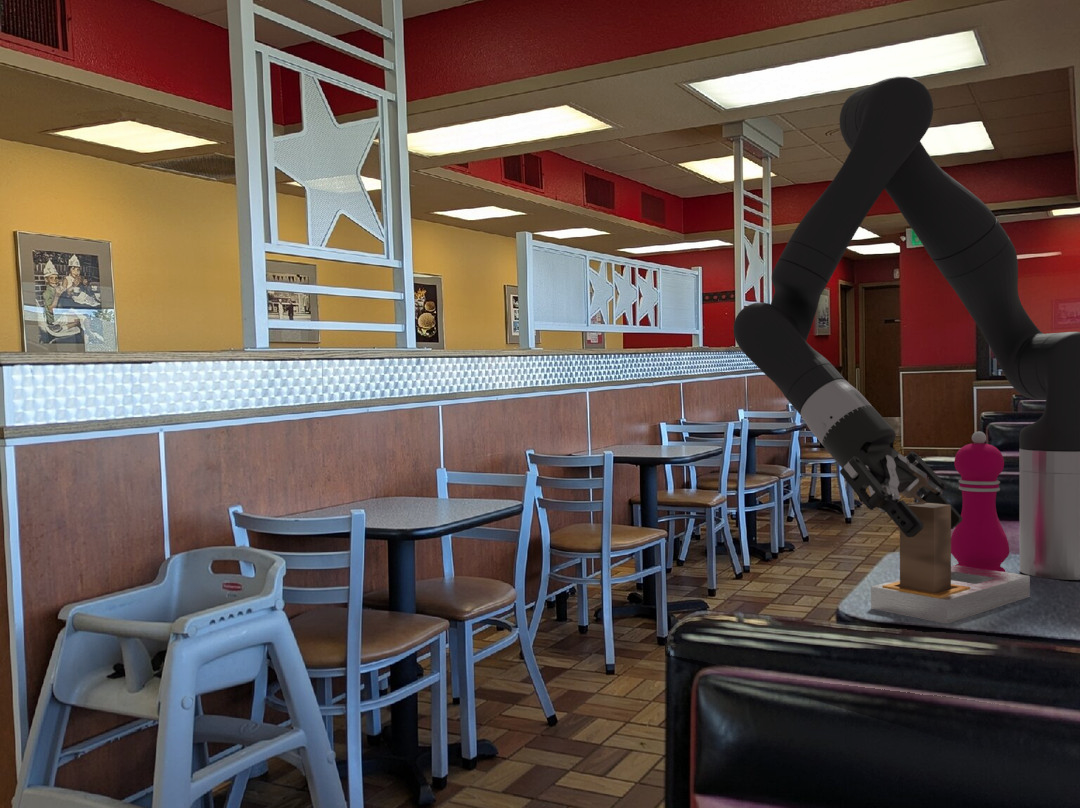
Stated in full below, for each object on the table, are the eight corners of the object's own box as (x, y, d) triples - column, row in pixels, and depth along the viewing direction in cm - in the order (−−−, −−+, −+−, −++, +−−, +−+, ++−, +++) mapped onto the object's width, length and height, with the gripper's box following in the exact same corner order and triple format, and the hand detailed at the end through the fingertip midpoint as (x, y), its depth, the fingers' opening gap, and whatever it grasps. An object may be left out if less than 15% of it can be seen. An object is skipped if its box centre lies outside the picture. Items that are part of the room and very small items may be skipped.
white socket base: (956, 588, 119) (956, 563, 118) (1029, 600, 112) (1029, 574, 112) (871, 612, 106) (870, 584, 106) (946, 627, 99) (947, 598, 99)
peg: (917, 604, 108) (917, 501, 108) (950, 610, 105) (950, 504, 105) (899, 609, 105) (899, 504, 105) (934, 615, 102) (933, 507, 102)
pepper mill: (958, 573, 128) (957, 429, 128) (1015, 579, 124) (1015, 431, 124) (942, 581, 123) (942, 431, 123) (1001, 588, 118) (1001, 433, 118)
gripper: (831, 404, 106) (927, 513, 97) (897, 402, 115) (990, 502, 106) (793, 448, 110) (881, 556, 101) (859, 443, 119) (946, 542, 110)
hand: (937, 528), depth 104 cm, fingers open, 8 cm apart
